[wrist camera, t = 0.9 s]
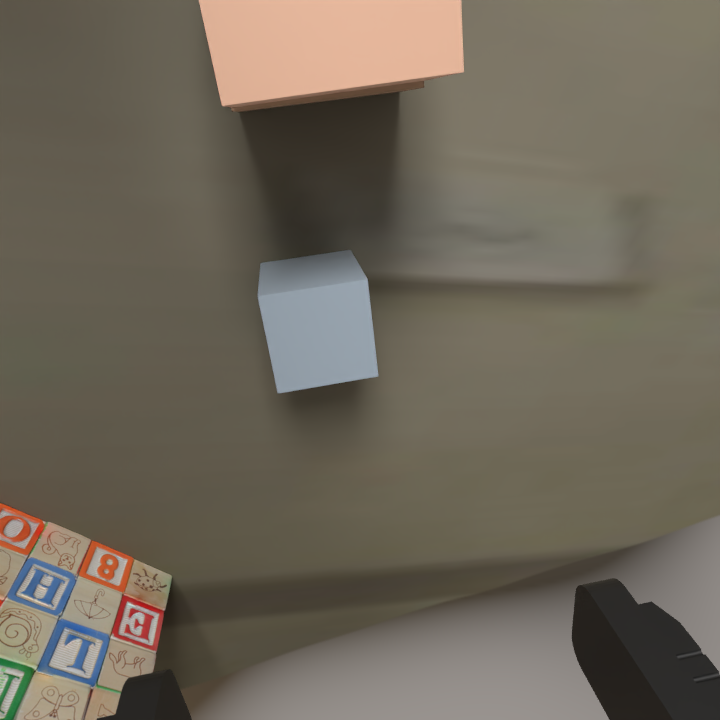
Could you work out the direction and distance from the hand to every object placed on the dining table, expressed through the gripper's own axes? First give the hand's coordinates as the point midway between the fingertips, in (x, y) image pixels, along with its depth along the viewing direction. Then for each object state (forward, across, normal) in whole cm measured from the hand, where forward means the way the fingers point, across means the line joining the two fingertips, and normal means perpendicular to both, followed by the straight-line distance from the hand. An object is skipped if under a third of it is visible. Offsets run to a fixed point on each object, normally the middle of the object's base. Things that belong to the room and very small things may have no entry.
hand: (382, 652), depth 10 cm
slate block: (+22, 0, 0) cm, 22 cm away
